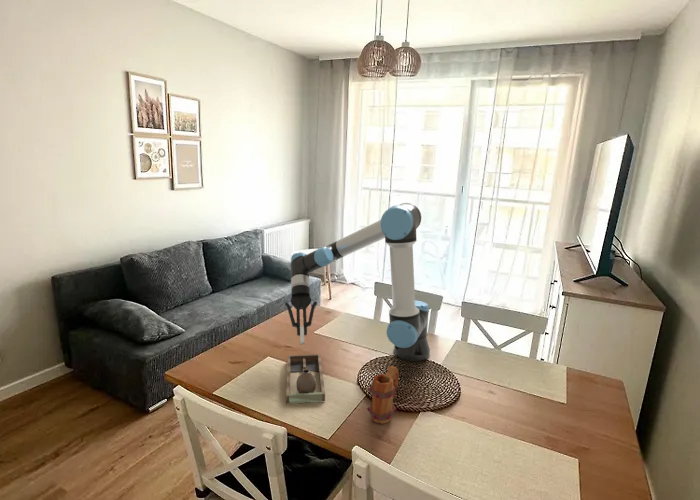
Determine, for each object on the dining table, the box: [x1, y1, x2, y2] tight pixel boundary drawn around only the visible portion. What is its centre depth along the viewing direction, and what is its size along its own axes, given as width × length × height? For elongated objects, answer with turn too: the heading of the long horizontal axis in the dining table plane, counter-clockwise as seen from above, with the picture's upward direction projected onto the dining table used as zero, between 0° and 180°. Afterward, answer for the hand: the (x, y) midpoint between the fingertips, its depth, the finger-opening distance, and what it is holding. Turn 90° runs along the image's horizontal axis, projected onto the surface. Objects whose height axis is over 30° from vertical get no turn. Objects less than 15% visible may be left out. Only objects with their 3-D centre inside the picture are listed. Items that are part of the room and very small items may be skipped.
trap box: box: [285, 353, 326, 405], centre depth 147 cm, size 28×13×3 cm, turn 8°
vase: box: [295, 369, 317, 394], centre depth 138 cm, size 7×7×9 cm
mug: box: [366, 365, 400, 424], centre depth 127 cm, size 15×8×15 cm, turn 148°
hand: (302, 343), depth 152 cm, fingers closed
